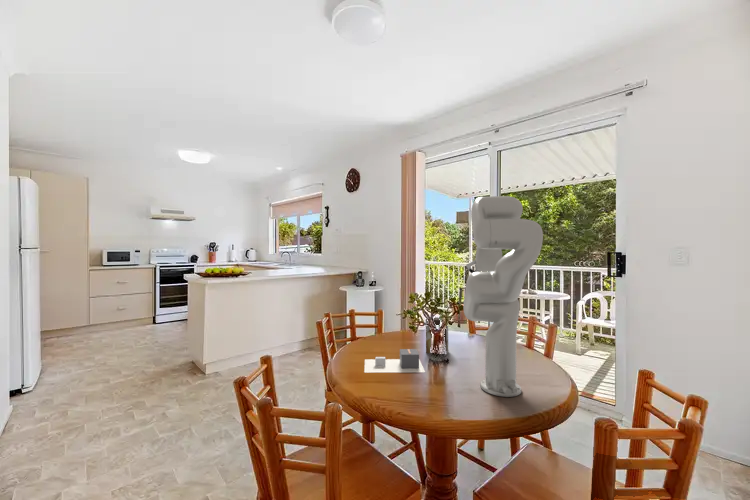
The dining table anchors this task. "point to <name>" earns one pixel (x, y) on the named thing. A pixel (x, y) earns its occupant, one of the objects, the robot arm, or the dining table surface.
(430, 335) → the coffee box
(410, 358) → the dark grey box
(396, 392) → the dining table surface
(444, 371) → the dining table surface
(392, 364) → the hub board
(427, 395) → the dining table surface
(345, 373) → the dining table surface
